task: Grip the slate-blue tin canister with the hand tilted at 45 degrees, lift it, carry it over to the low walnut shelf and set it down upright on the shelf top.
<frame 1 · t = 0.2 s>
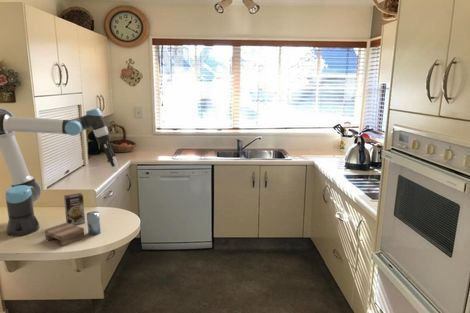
hand: (116, 169, 209), 27 cm above the table, tool tilted 15°, fingers open, 13 cm apart
tin canister: (94, 233, 187), on the table
coffee box: (76, 223, 201), on the table
walnut shelf: (65, 238, 181), on the table
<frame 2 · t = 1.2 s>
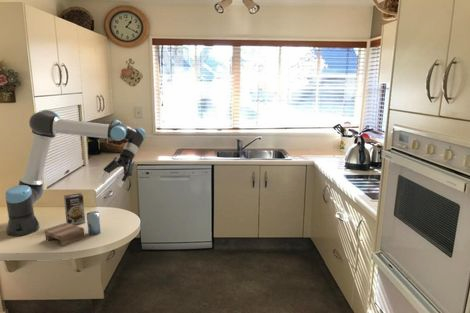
hand: (110, 184, 193), 23 cm above the table, tool tilted 45°, fingers open, 13 cm apart
nothing on the table moved.
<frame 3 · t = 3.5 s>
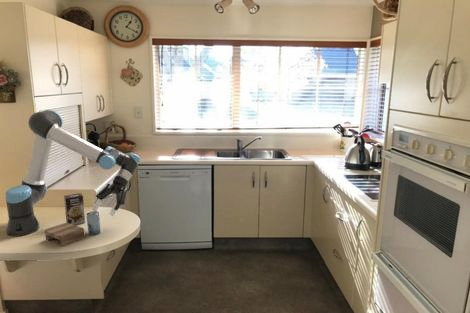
hand: (102, 212, 189), 10 cm above the table, tool tilted 45°, fingers open, 13 cm apart
nothing on the table moved.
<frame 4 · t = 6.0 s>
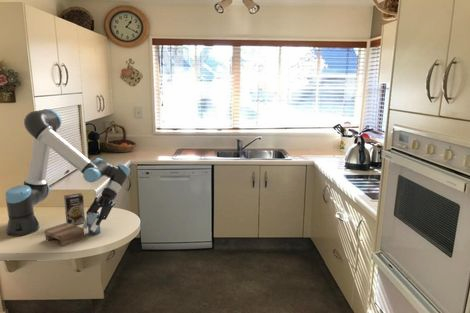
hand: (88, 229, 183), 4 cm above the table, tool tilted 45°, fingers closed on tin canister, 6 cm apart
tin canister: (94, 233, 187), on the table, touching gripper
everything else where it was.
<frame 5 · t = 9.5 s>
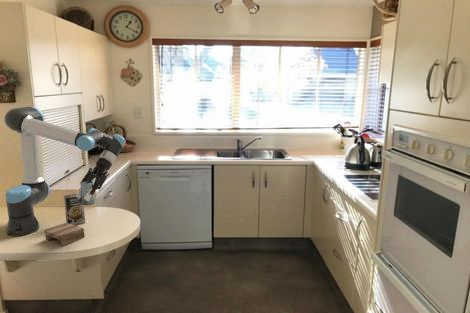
hand: (81, 198, 179), 20 cm above the table, tool tilted 45°, fingers closed on tin canister, 6 cm apart
tin canister: (88, 203, 183), point 17 cm above the table, touching gripper
everything else where it was.
when the fingers open (10 cm above the table, at t = 13.3 s): tin canister drops 1 cm, resting on walnut shelf.
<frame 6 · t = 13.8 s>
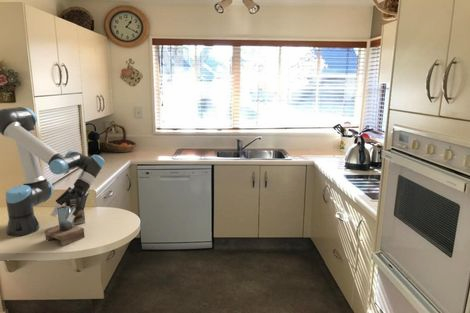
hand: (60, 218, 177), 11 cm above the table, tool tilted 45°, fingers open, 13 cm apart
tin canister: (66, 228, 180), point 5 cm above the table, touching walnut shelf
everything else where it was.
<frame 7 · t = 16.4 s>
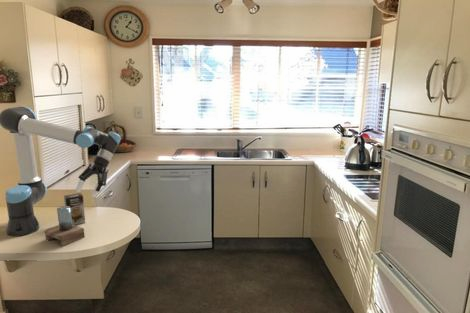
hand: (84, 194, 189), 19 cm above the table, tool tilted 35°, fingers open, 13 cm apart
nothing on the table moved.
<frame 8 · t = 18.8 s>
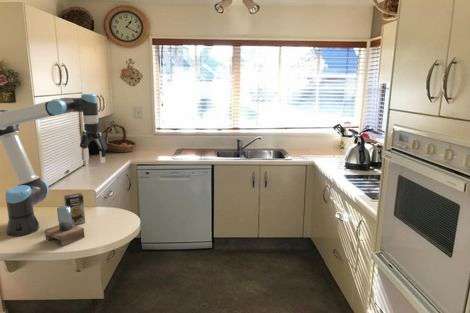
hand: (94, 161, 197), 35 cm above the table, tool pointing down, fingers open, 13 cm apart
nothing on the table moved.
at the end: tin canister inside the target area on the walnut shelf (1.0 cm from its centre), point 5.1 cm above the walnut shelf's base; tin canister tilted 1°; the gripper is holding nothing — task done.
